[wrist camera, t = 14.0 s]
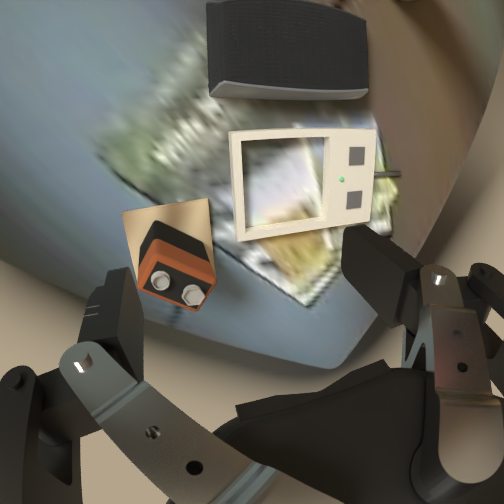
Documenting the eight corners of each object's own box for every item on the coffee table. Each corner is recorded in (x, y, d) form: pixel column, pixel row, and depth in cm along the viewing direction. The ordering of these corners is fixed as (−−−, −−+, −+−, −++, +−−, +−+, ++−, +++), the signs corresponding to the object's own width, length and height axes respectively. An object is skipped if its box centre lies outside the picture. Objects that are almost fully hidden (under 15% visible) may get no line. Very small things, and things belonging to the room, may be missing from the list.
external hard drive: (356, 104, 36) (375, 106, 32) (207, 102, 31) (214, 101, 28) (354, 15, 30) (373, 9, 26) (205, -3, 25) (211, -15, 22)
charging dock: (402, 130, 39) (411, 132, 37) (395, 212, 45) (402, 217, 43) (228, 131, 33) (232, 132, 31) (235, 237, 39) (238, 243, 37)
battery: (187, 270, 38) (198, 320, 30) (138, 248, 35) (135, 295, 27) (204, 241, 37) (221, 285, 29) (154, 217, 34) (155, 257, 26)
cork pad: (207, 198, 36) (207, 199, 35) (214, 272, 40) (215, 274, 40) (122, 212, 33) (121, 213, 33) (139, 285, 38) (139, 288, 37)
